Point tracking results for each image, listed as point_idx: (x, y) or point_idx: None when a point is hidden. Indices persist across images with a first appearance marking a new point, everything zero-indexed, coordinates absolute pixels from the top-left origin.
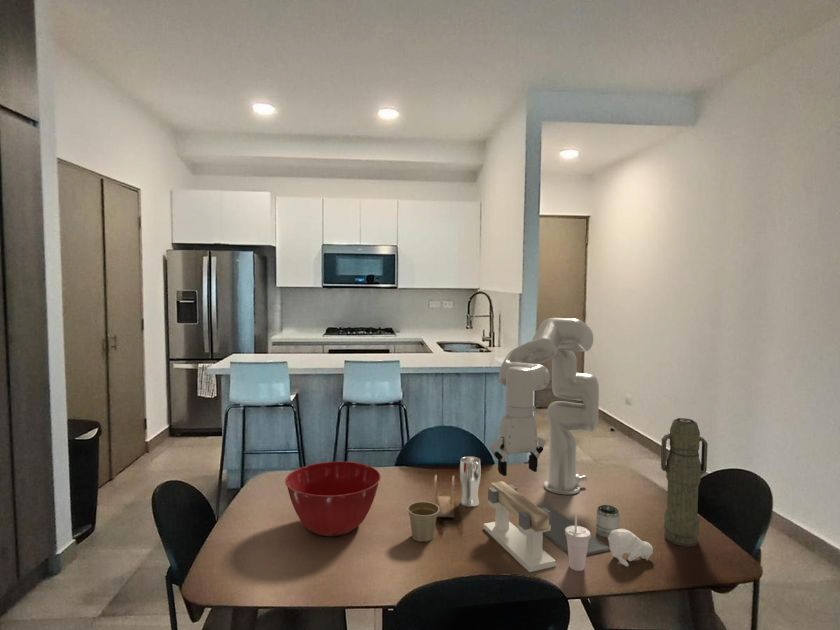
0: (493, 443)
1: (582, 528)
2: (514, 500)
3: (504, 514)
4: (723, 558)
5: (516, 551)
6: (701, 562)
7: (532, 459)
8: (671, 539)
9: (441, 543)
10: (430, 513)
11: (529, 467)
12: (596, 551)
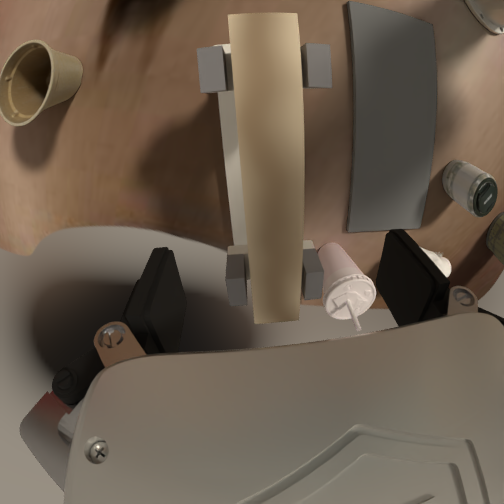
0: (39, 458)
1: (370, 292)
2: (246, 215)
3: None
4: (485, 278)
5: (235, 197)
6: (466, 280)
7: (409, 314)
8: (489, 236)
9: (91, 106)
10: (56, 53)
11: (389, 243)
12: (394, 228)
